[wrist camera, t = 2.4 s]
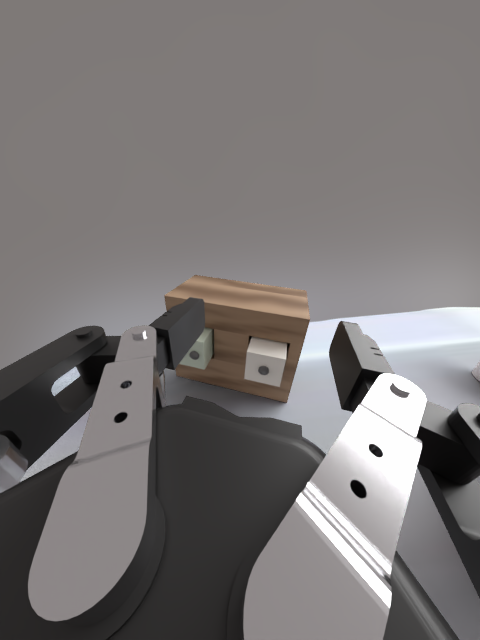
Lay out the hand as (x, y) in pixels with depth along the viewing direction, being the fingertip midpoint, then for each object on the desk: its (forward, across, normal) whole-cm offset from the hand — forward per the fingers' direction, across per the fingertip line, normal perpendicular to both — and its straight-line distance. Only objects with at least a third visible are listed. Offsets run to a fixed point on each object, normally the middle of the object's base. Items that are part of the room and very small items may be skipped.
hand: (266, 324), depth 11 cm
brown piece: (+18, -5, -22) cm, 29 cm away
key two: (+13, -11, -15) cm, 23 cm away
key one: (+13, 0, -15) cm, 20 cm away
